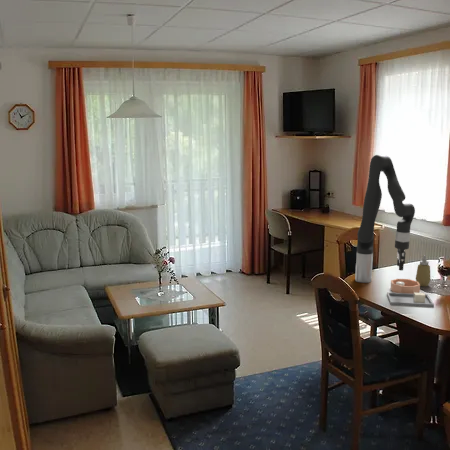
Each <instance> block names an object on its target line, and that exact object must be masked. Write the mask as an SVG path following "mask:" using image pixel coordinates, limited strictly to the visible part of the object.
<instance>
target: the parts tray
mask: <svg viewBox="0 0 450 450" xmlns="http://www.w3.org/2000/svg"><path fill="white" fill-rule="evenodd" d="M424 294H425V303H420V302H414V300H413V298H414V294H410V293H396V292H390V291H389V292H386V297H387V300H388V301H389V304H390V305H391V306H405V307H410V306H411V307H422V308H423V307H426V308H434V307H435V304H434V302H433V301H432V299H431V298H430V295H429V294H427V293H424Z"/></svg>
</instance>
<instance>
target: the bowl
mask: <svg viewBox="0 0 450 450" xmlns="http://www.w3.org/2000/svg"><path fill="white" fill-rule="evenodd" d="M396 282H404V283H405V284H404V286H401V285H397V284H396ZM390 290H391V292H392V293H410V294H414V293H421V286H420V284H419V282H417V281H416V280H413V279H410V278H396V279H391V280H390Z"/></svg>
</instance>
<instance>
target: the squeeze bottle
mask: <svg viewBox="0 0 450 450" xmlns="http://www.w3.org/2000/svg"><path fill="white" fill-rule="evenodd" d="M429 262H430V261H428V260H427V255H426V254H424V255H423V256H422V259H421V260H420V261H419V264H417V269H416V275H415V281H417V282H419V284H420V287H428V286H429V284H430V282H431V265H430V264H429Z"/></svg>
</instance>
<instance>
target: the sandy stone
mask: <svg viewBox="0 0 450 450" xmlns="http://www.w3.org/2000/svg"><path fill="white" fill-rule="evenodd" d="M425 294H426V293H424V292H420V293H414V298H413V300H414V302H420V303H425Z"/></svg>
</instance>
